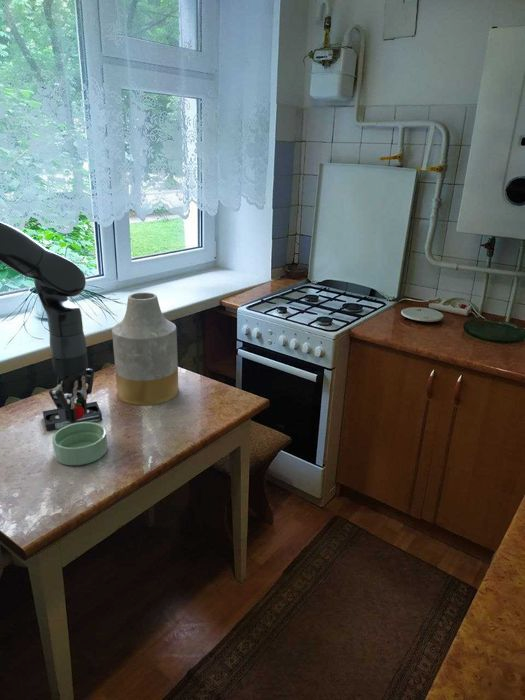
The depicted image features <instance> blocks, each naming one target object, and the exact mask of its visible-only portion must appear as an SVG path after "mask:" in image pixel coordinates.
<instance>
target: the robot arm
mask: <svg viewBox="0 0 525 700" xmlns="http://www.w3.org/2000/svg"><path fill="white" fill-rule="evenodd" d="M0 263H2V264H4V265H5V266H6V267H8V268H9V269H11V270H13V271H14V272H16V273H18V274H20V275H21V276H23V277H26V278H28V279H29V278H30V279H33V281H34V287H35V290H36V293H37V296H38V298H39V301H40V303H41V305H42V308H43V310H44V312H45V314H46V317H47V326H48V333H49V349H50V356H51V364H52V370H53V372H54V373H55V374H56V376H57V381H56V384H57V385H56V386H55V387H54V388H50V389H49V391H48V394H49V396H50V398H51V399H52V401H53V404H54V405H55V408H56V409H63V410H65V416H66V420H67V421H68V422H72V423H74V422H76V421H77V419H76V411H75V408H74V405H75V403H81V404H82V407H83V408H84V414H86V413H87V403H88V402H87V399H88V396H89V395H91V394H92V392H93V384H94V376H95V370H94V369H93V368H89V361H88V360H89V358H88V350H87V339H86V336H85V332H84V324H83V316H82V310H81V308H80V307H79V306H78V305H77V304H75V303H73V302H71V301H70V300H69V298H73V297H76V296H79V295H80V294H81V293H82V292H83V291H84V290H85V287H86V284H87V281H86V280H87V279H86V276H85V273H84V271H83V270H82V268H81V267H79V266H78V264H76V263H75V262H73V261H71V260H70V259H68V258H67V257H64V256H62V255H60V254H58V253H56V252H54V251H51V250H50V249H47V248H46V247H44V246H43V245H42V244H41V243H40V242H38V241H37V240H35V239H34V238H32V237H31V236H29V235H28V234H27V233H25V232H24V231H22V230H20V229H18V228H17V227H15V226H12V225H11V224H8V223H6V222H3V221H1V220H0ZM68 400H69V402H68Z"/></svg>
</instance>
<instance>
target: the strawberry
mask: <svg viewBox="0 0 525 700" xmlns="http://www.w3.org/2000/svg"><path fill="white" fill-rule="evenodd" d="M74 408H75V411H76V419H77V420H79V419H81V418H82V417H83V416H84V408H83V407H82V404H81V403H76V402H75V405H74Z"/></svg>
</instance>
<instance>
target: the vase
mask: <svg viewBox="0 0 525 700" xmlns="http://www.w3.org/2000/svg"><path fill="white" fill-rule="evenodd" d="M126 303H127V304H126V310H125V314H124V317H123V319H122V320H121V321H119V322H118V323H116V324H115V325H114V326H113V327H112V329H111V335H112V346H113V347H112V349H113V359H114V369H115V380H116V391H117V392H116V393H117V397H118V399H119V400H120V401H122V402H123V403H125V404H129V405H133V406H142V407H147V406H148V407H149V406H155V405H161V404H164V403H166V402H169V401H171V400H173V399H174V398H175V397H177V395H178V394H179V391H180V390H179V388H180V385H179V363H178V361H179V359H178V335H177V332H178V331H177V326H176V324H175V323H174V322H172V321H170V320H168V319H167V318H166V317H165V316H164V315H163V312H162V310H161V306H160V304H159V299H158V296H157V294H156V293H153V292H134V293H131V294H129V295H128V297H127V302H126Z"/></svg>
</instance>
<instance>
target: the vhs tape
mask: <svg viewBox="0 0 525 700" xmlns="http://www.w3.org/2000/svg"><path fill="white" fill-rule="evenodd" d="M42 416H43V421H44V425H45V431H46V432H50V431H51V432H52V431H55V430H56V431H57V430H59V429H61V428H63V427H65V426H67V425H71V424H74V423H80V422H93V423H97V422H100V421H102V420H103V414H102V411H101V408H100V406H99V403H98V401H91V402H87V413H86V414H84V416H83V417H82V418H81V419H79V420H77V421H76V422H74V423H72V422H68V421H67V420H66V416H65V410H63V409H57V408H53V409H48V410H43V411H42Z"/></svg>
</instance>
